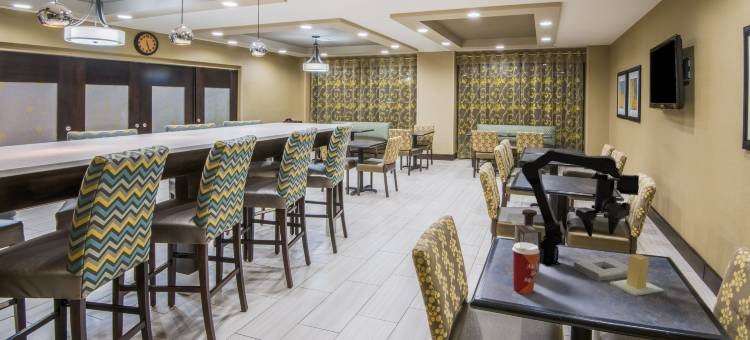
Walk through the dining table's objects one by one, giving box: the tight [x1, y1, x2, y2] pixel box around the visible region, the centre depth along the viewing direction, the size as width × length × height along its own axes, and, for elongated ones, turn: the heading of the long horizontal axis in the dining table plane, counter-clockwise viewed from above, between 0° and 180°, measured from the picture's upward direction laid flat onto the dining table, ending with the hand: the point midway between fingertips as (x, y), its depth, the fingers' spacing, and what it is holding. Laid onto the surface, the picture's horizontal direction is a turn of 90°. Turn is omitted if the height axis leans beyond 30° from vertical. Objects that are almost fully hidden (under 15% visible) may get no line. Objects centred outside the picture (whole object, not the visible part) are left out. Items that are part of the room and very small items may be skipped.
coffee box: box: [513, 224, 542, 278], centre depth 169 cm, size 9×6×16 cm
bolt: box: [521, 208, 537, 227], centre depth 197 cm, size 6×5×15 cm
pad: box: [609, 279, 664, 297], centre depth 158 cm, size 12×10×1 cm
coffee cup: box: [511, 242, 540, 295], centre depth 154 cm, size 8×8×15 cm
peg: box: [626, 253, 650, 289], centre depth 157 cm, size 4×4×10 cm
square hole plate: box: [573, 257, 628, 282], centre depth 171 cm, size 16×12×2 cm
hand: (600, 235), depth 170 cm, fingers open, 9 cm apart
